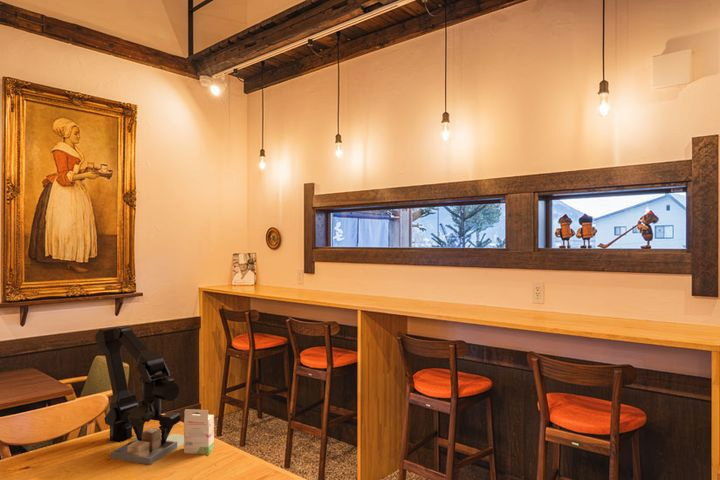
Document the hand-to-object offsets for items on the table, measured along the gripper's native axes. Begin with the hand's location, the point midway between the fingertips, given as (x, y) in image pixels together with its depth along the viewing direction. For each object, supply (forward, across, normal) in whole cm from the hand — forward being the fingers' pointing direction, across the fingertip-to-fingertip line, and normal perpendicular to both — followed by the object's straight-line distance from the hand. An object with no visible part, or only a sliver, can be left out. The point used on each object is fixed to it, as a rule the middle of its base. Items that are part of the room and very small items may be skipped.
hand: (151, 442), depth 161 cm
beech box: (+2, 0, -6) cm, 6 cm away
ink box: (+3, +16, +4) cm, 16 cm away
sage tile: (+3, +3, +8) cm, 9 cm away
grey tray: (+3, 0, -3) cm, 4 cm away
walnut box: (+2, 0, 0) cm, 2 cm away
